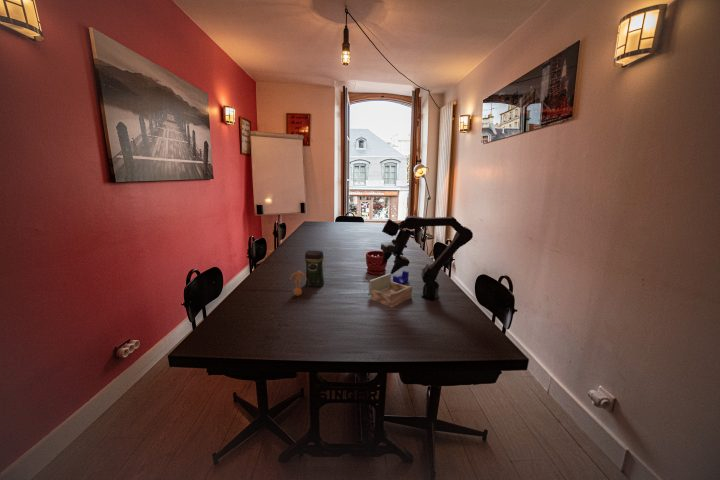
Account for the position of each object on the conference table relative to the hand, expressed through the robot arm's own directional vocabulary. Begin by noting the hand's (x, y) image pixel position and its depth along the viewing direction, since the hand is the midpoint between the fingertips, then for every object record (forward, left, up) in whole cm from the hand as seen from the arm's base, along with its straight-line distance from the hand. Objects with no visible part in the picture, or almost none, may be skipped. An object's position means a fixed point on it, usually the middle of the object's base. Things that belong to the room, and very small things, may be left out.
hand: (387, 269), depth 144 cm
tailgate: (+3, +2, -11) cm, 12 cm away
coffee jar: (+35, +17, -13) cm, 41 cm away
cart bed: (-4, +2, -13) cm, 14 cm away
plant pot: (+25, -22, -13) cm, 36 cm away
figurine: (+30, +31, -13) cm, 45 cm away
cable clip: (+4, -17, -14) cm, 22 cm away
